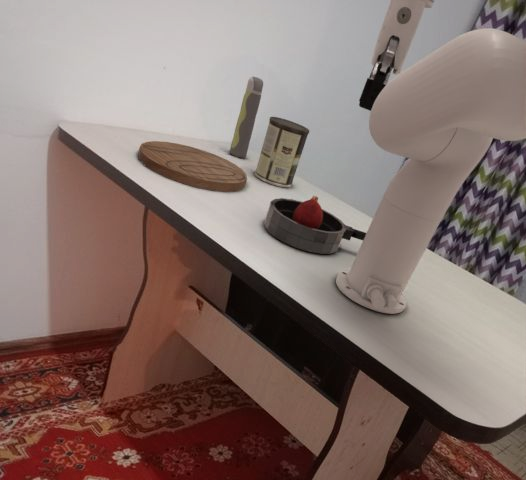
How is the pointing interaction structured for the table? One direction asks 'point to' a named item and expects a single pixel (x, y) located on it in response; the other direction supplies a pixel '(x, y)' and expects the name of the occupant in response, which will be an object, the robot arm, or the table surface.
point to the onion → (309, 213)
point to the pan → (303, 228)
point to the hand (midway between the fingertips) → (367, 107)
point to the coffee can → (281, 152)
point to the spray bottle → (247, 118)
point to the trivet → (192, 166)
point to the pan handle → (353, 233)
